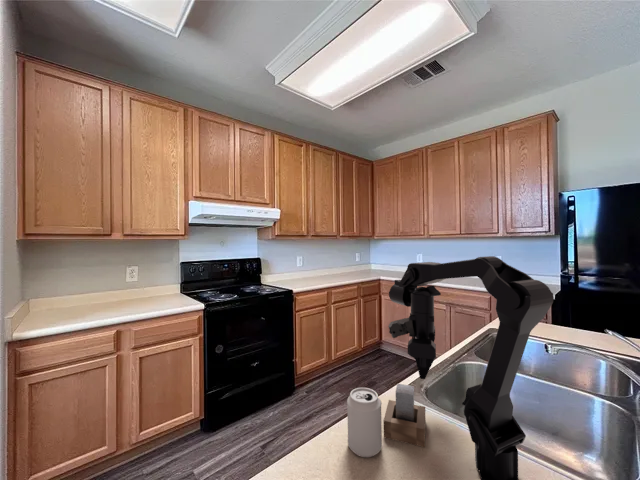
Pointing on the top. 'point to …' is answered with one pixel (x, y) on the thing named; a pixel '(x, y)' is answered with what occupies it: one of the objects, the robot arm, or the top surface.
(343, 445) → the top surface
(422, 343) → the robot arm
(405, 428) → the socket
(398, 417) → the peg
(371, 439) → the can
